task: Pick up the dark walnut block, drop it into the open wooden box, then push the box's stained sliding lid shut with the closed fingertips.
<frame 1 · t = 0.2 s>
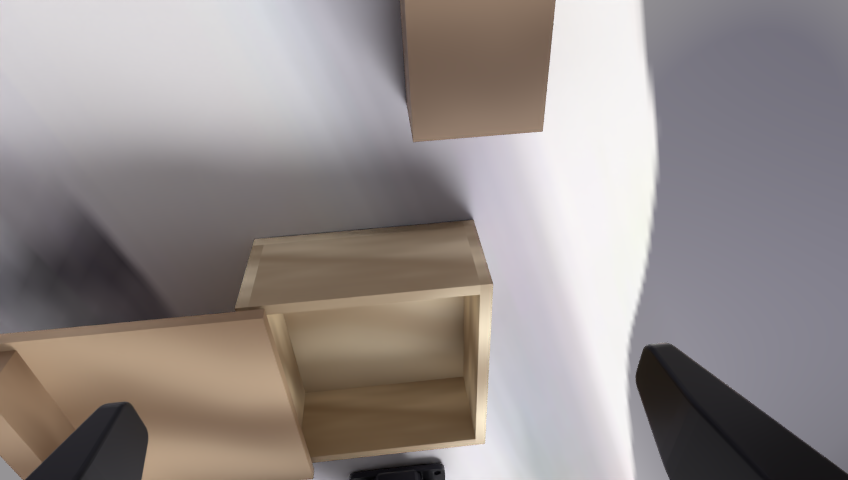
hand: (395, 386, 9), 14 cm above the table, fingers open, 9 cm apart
lid: (164, 439, 22), point 6 cm above the table, slide at 9.0 cm
block: (462, 40, 19), on the table
wooden box: (376, 315, 27), on the table
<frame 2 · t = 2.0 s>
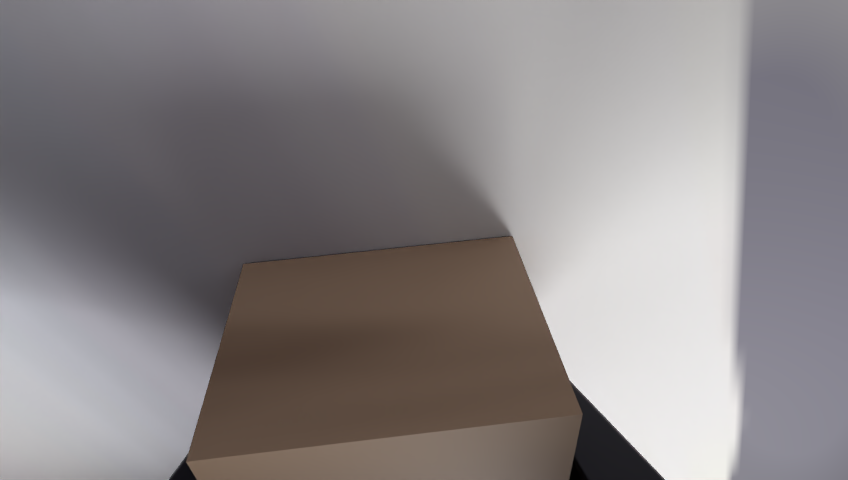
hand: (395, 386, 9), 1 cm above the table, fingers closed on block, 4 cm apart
block: (391, 341, 10), on the table, touching gripper
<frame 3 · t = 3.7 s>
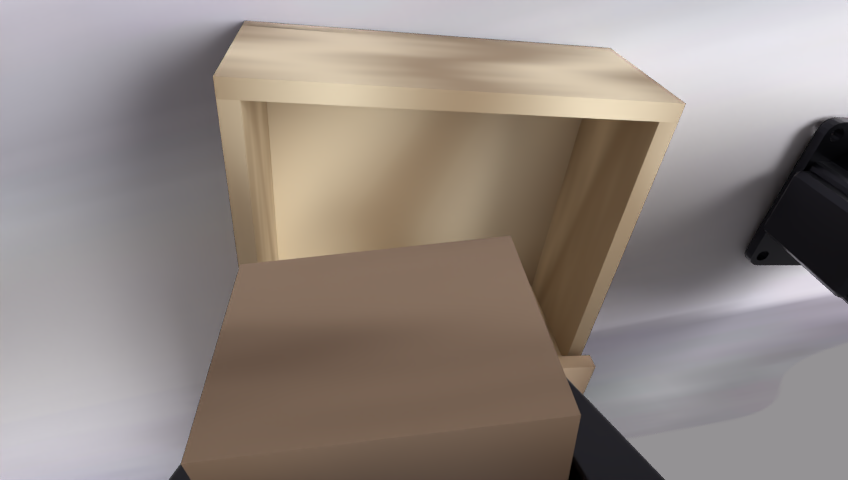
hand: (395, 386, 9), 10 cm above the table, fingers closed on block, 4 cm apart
block: (390, 342, 10), point 9 cm above the table, touching gripper
wooden box: (421, 181, 18), on the table
when the fingers open (5 cm above the table, at t = 5.2 s): block drops 3 cm, resting on wooden box.
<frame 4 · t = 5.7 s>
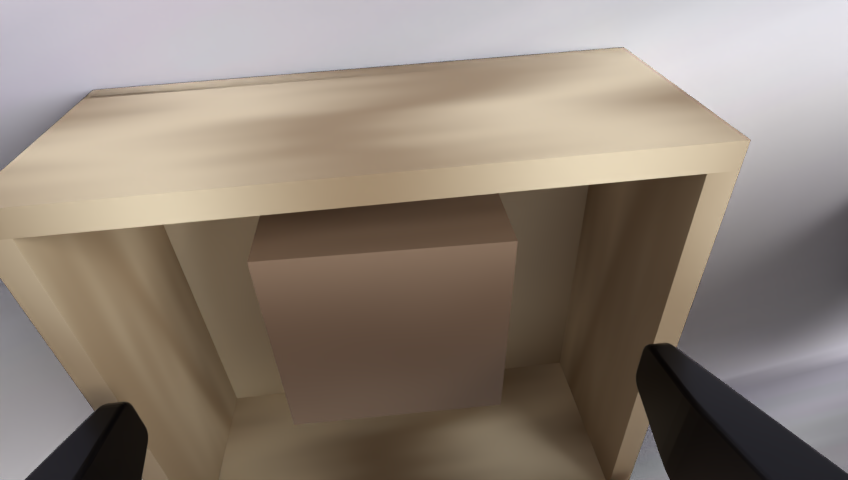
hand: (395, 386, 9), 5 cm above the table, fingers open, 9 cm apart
block: (385, 236, 13), resting on wooden box
wooden box: (387, 256, 14), on the table
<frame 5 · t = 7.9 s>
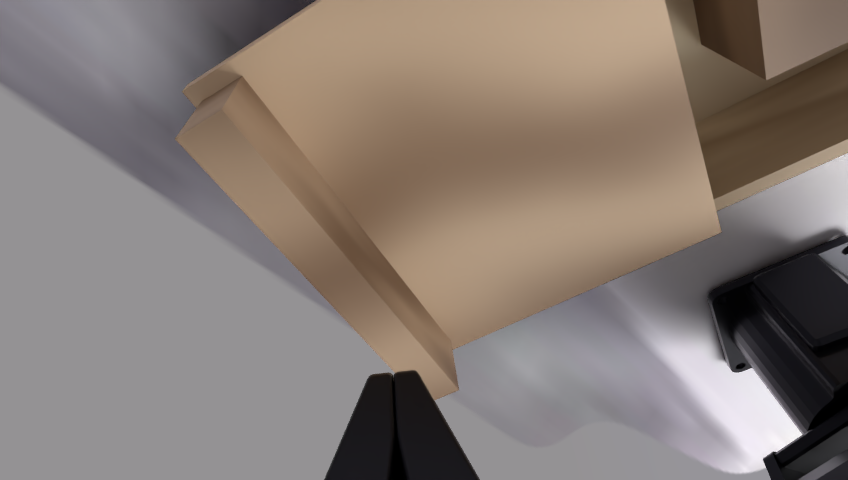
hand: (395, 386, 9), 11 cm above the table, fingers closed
lid: (494, 185, 13), point 6 cm above the table, slide at 9.0 cm
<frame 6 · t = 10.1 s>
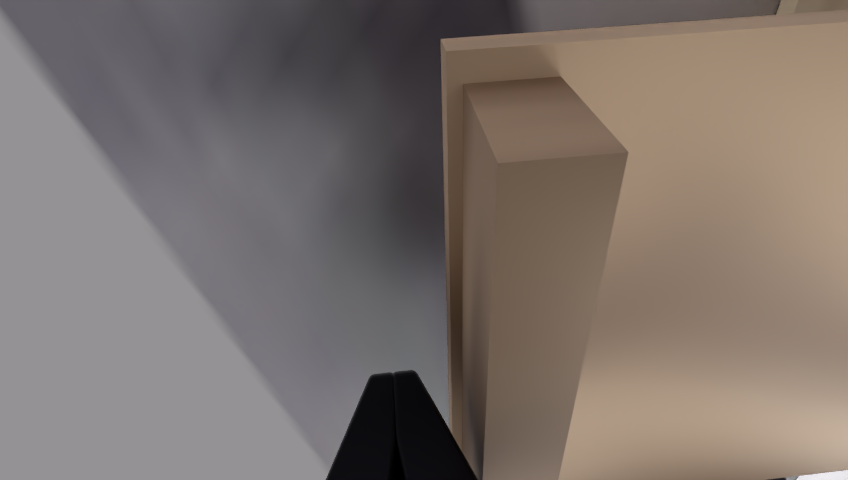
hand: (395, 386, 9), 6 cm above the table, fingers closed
lid: (754, 370, 9), point 6 cm above the table, slide at 7.8 cm, touching gripper
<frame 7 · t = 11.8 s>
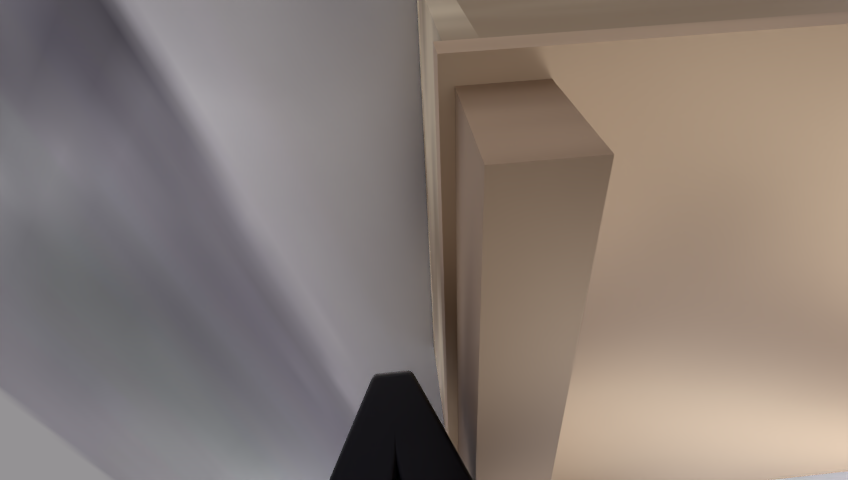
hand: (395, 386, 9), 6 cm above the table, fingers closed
lid: (748, 371, 9), point 6 cm above the table, slide at -0.1 cm, touching gripper
wooden box: (613, 191, 14), on the table
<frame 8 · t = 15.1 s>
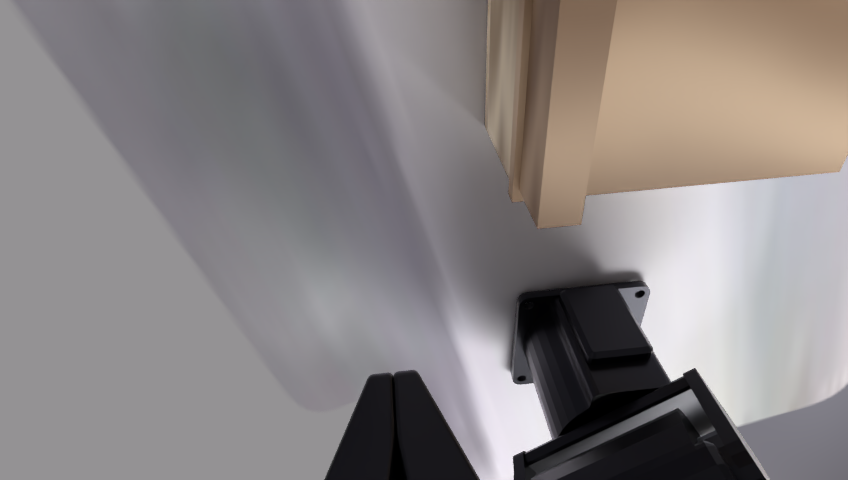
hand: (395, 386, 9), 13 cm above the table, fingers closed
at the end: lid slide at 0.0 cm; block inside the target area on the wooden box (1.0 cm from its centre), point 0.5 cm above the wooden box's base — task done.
